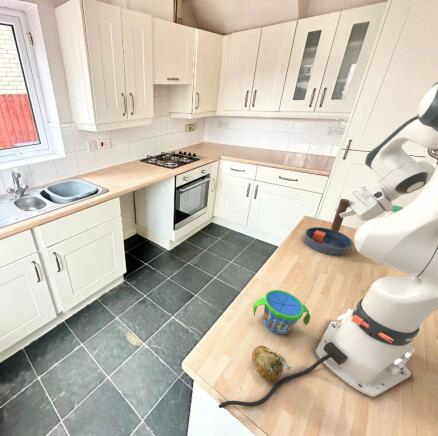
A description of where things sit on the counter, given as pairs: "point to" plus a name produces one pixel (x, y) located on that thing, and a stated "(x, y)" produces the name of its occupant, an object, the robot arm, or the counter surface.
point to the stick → (337, 219)
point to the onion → (268, 363)
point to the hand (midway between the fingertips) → (338, 213)
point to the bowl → (328, 242)
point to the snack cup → (281, 311)
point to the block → (318, 236)
